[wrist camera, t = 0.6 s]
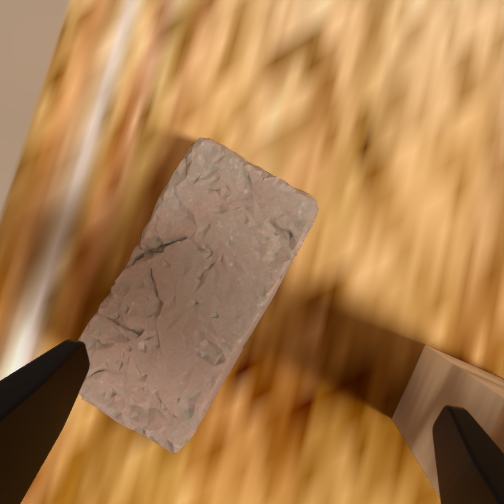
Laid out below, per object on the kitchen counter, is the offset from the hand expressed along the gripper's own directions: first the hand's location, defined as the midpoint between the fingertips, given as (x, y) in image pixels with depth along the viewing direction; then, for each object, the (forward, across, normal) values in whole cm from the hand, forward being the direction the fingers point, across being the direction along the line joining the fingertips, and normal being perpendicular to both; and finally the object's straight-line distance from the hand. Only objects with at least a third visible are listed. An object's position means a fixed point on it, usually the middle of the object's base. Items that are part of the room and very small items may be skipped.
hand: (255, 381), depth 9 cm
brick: (+13, +5, +8) cm, 16 cm away
